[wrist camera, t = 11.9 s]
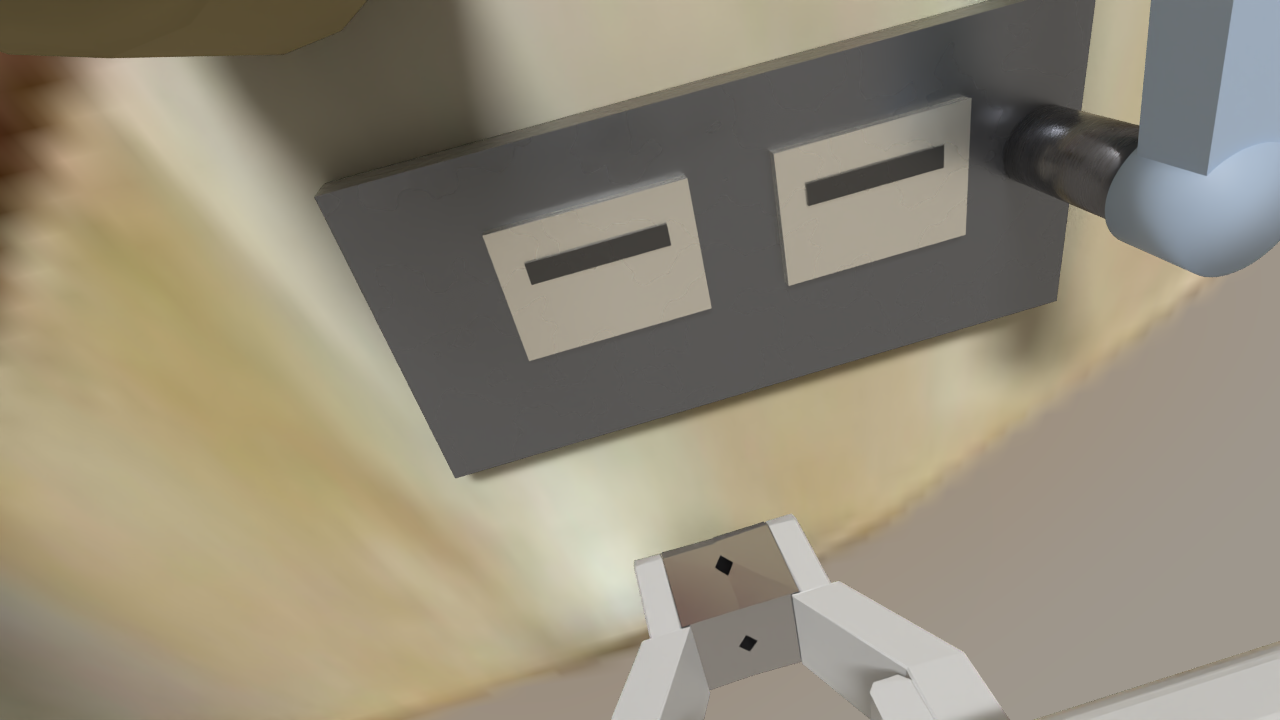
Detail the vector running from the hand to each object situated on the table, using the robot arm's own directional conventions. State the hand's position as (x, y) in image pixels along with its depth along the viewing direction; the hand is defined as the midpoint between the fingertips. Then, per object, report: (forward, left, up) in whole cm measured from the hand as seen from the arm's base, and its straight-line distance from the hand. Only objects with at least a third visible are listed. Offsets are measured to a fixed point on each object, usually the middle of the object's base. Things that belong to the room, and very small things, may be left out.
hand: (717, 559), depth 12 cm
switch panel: (+5, -1, -15) cm, 16 cm away
